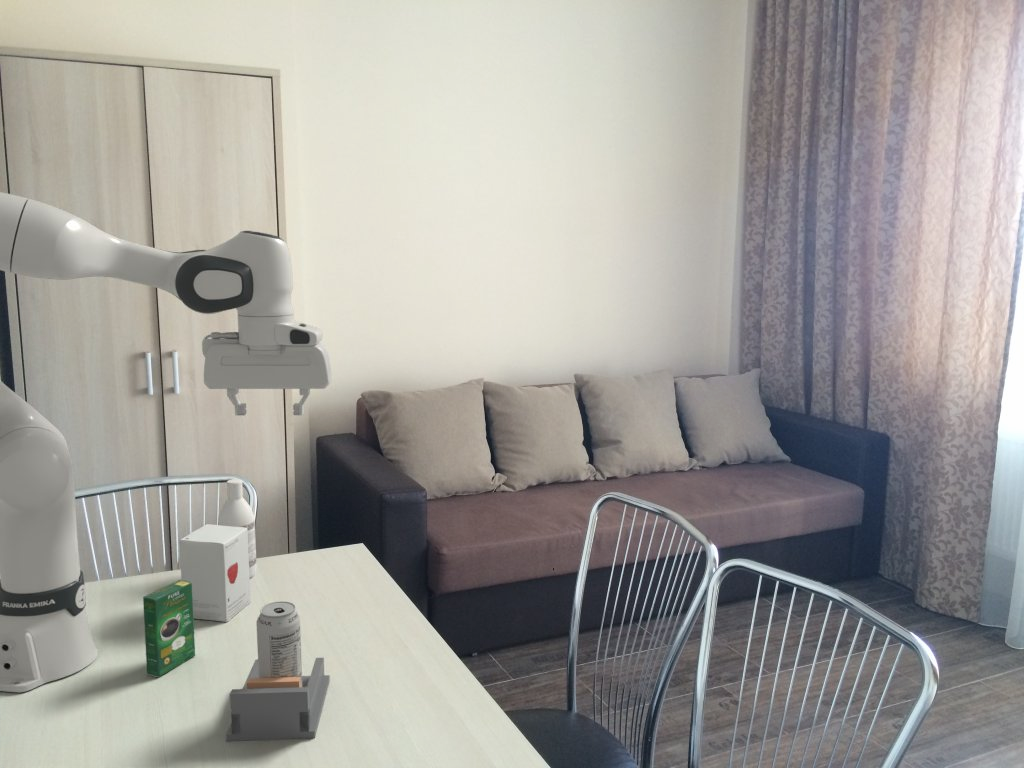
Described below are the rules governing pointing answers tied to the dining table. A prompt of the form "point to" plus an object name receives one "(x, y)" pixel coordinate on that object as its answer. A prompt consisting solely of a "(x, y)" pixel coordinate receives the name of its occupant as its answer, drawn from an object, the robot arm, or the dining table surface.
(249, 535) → the bath foam
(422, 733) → the dining table surface
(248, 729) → the pusher lane
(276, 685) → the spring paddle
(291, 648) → the energy drink can
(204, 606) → the supplement box
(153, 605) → the coffee box
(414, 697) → the dining table surface
